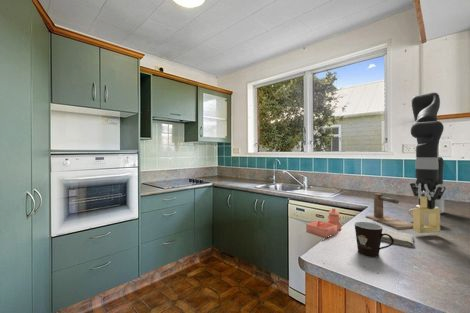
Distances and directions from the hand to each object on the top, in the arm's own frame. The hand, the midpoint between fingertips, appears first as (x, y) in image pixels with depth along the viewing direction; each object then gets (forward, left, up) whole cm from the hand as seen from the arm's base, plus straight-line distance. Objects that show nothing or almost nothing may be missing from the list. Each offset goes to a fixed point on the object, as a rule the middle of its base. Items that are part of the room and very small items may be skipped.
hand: (426, 207), depth 94 cm
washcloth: (+18, -1, -13) cm, 22 cm away
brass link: (0, 0, -10) cm, 10 cm away
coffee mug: (+37, +12, -13) cm, 41 cm away
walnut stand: (0, -18, -12) cm, 22 cm away
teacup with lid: (-16, -15, -13) cm, 25 cm away
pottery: (+39, -13, -13) cm, 43 cm away
